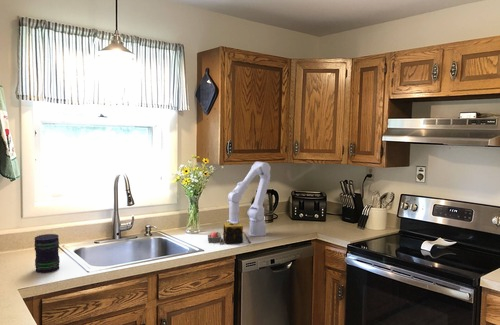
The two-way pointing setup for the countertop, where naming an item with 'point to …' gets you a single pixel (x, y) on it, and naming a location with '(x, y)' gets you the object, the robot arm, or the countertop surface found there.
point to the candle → (233, 233)
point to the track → (223, 242)
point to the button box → (214, 239)
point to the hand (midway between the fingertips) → (233, 235)
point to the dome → (214, 234)
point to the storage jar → (47, 253)
